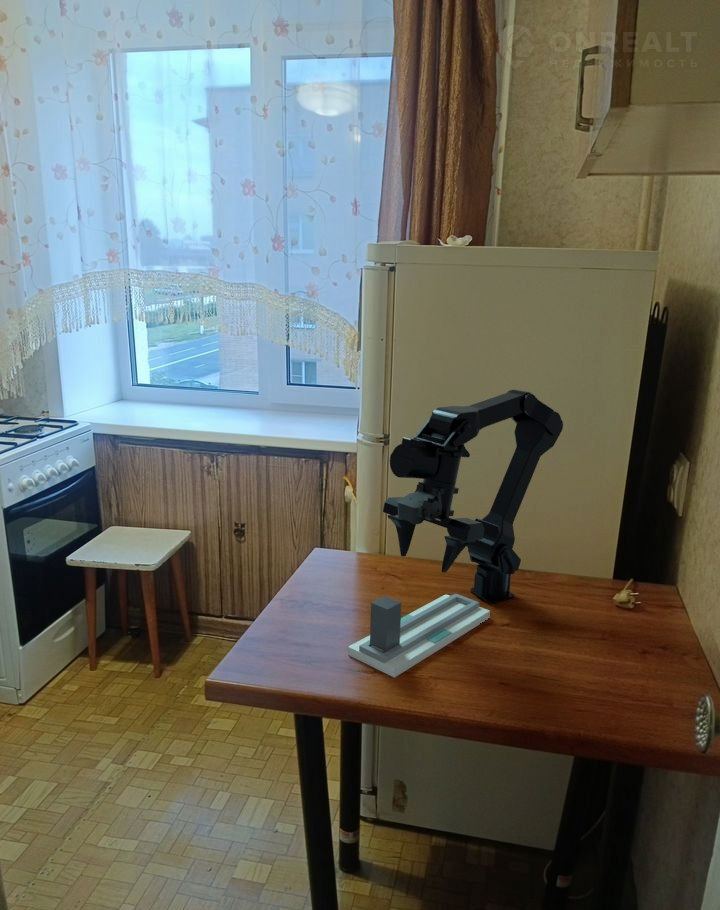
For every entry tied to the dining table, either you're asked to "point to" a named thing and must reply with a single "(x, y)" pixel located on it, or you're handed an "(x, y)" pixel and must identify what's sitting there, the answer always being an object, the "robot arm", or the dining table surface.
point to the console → (423, 633)
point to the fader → (385, 624)
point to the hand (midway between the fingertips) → (423, 564)
